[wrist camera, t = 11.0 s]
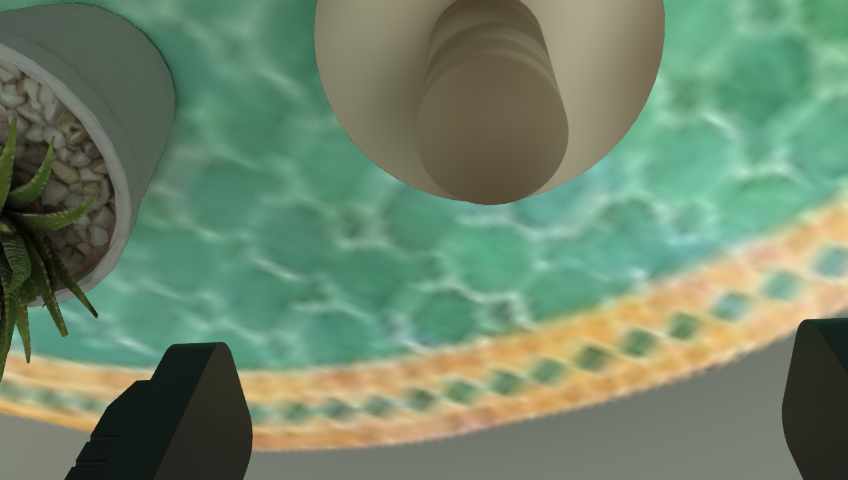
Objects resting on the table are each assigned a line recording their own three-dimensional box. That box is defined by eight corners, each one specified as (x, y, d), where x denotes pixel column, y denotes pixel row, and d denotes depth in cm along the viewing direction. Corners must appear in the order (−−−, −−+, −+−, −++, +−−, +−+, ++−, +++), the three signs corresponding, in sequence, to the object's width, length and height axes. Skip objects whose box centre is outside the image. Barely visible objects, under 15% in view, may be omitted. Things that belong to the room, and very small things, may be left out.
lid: (670, -167, 21) (766, -146, 14) (647, 180, 27) (707, 315, 20) (291, -129, 22) (211, -93, 15) (345, 197, 28) (304, 331, 21)
